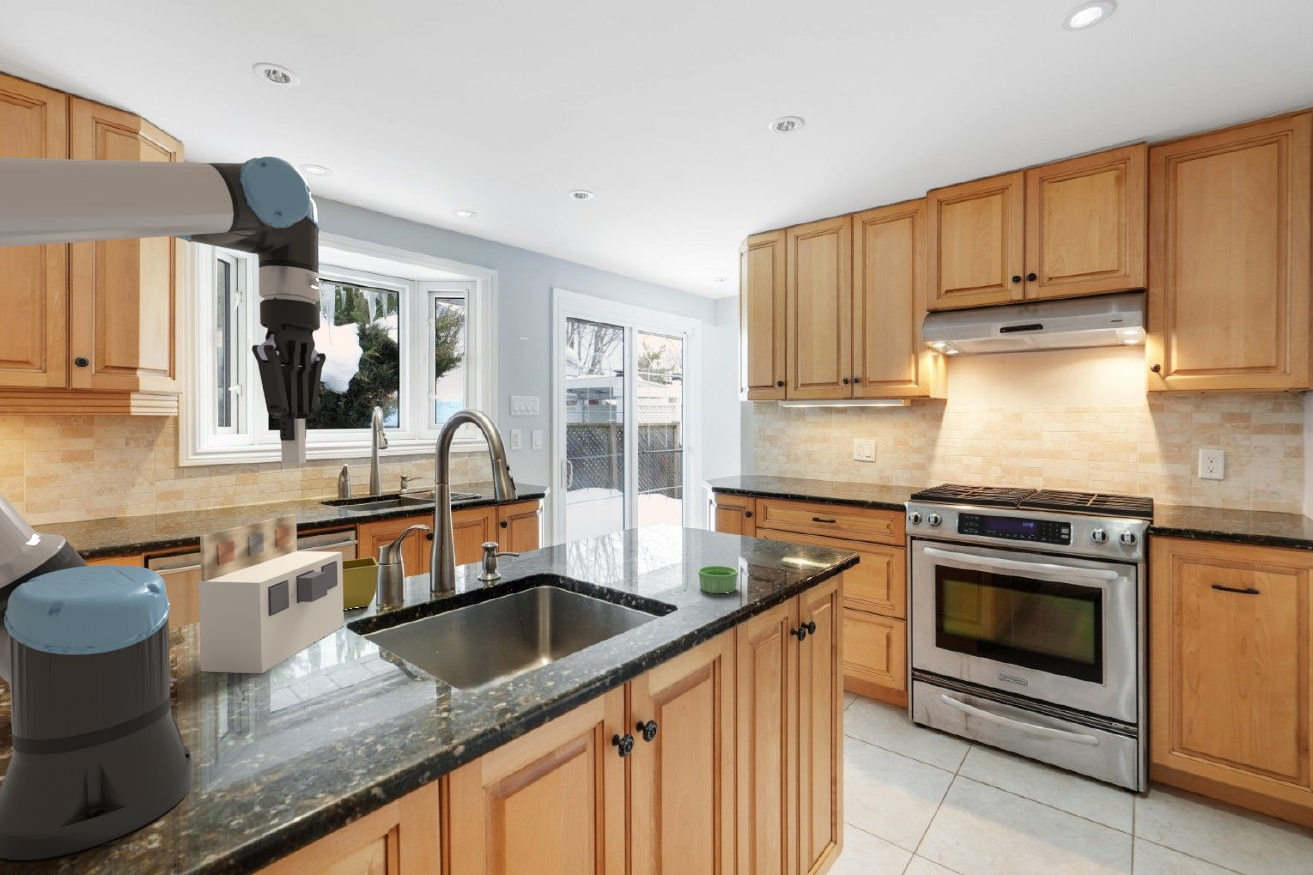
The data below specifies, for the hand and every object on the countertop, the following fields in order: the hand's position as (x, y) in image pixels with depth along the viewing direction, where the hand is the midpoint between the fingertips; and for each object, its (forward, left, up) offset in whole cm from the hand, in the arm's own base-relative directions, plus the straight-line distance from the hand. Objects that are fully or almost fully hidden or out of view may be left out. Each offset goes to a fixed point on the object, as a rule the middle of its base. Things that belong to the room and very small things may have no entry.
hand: (293, 462), depth 90 cm
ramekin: (+53, -63, -33) cm, 89 cm away
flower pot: (+34, +12, -33) cm, 49 cm away
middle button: (+12, +6, -24) cm, 27 cm away
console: (+12, +12, -32) cm, 37 cm away
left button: (+5, +8, -24) cm, 26 cm away
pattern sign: (+12, +16, -18) cm, 27 cm away
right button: (+18, +8, -24) cm, 31 cm away
